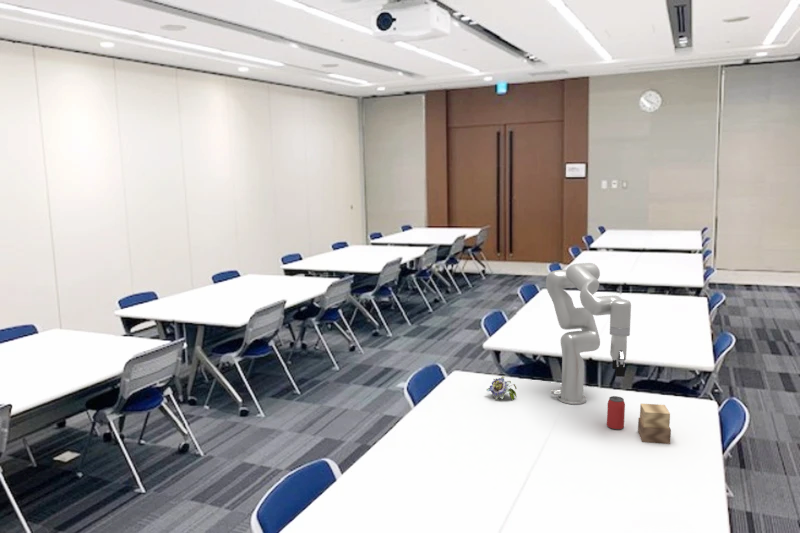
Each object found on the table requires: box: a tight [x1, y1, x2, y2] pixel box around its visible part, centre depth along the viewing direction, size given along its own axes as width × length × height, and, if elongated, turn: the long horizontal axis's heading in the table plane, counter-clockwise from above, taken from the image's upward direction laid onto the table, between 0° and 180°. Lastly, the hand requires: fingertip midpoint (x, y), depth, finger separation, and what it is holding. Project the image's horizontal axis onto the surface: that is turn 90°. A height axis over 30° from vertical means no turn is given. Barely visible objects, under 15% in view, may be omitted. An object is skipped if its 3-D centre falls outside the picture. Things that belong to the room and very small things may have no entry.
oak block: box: [639, 403, 671, 429], centre depth 241 cm, size 9×9×6 cm
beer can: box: [606, 395, 626, 431], centre depth 251 cm, size 7×7×12 cm
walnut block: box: [637, 417, 672, 445], centre depth 241 cm, size 10×10×6 cm
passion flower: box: [486, 375, 517, 401], centre depth 285 cm, size 11×11×12 cm
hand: (618, 372), depth 248 cm, fingers open, 9 cm apart
